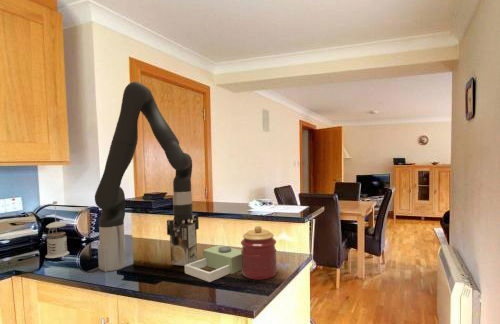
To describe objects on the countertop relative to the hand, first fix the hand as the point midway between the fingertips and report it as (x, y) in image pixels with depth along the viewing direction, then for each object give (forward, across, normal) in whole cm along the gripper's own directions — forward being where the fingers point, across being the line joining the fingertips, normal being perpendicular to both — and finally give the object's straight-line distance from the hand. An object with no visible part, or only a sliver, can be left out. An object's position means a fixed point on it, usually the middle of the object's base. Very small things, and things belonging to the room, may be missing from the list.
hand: (183, 243), depth 127 cm
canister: (+9, -11, +30) cm, 33 cm away
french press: (+10, +27, -62) cm, 68 cm away
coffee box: (+8, 0, 0) cm, 8 cm away
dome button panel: (+9, -4, +14) cm, 17 cm away
